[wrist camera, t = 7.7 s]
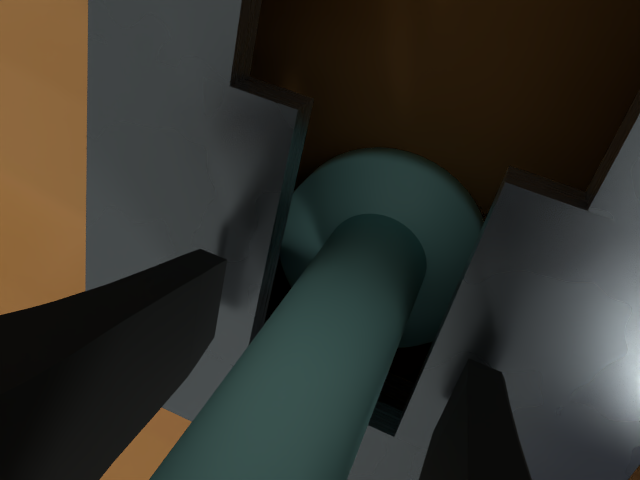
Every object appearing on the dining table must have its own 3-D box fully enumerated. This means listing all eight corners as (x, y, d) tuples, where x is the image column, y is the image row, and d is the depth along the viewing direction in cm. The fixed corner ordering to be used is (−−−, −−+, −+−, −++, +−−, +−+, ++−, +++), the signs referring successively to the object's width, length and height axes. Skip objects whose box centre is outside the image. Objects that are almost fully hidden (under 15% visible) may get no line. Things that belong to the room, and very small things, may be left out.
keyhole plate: (544, 469, 16) (541, 586, 13) (159, 301, 18) (84, 371, 15) (1071, -312, 7) (1383, -460, 5) (230, -448, 10) (94, -603, 7)
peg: (440, 359, 15) (334, 746, 8) (271, 280, 16) (35, 569, 9) (527, 199, 13) (484, 562, 5) (320, 114, 14) (39, 332, 6)
